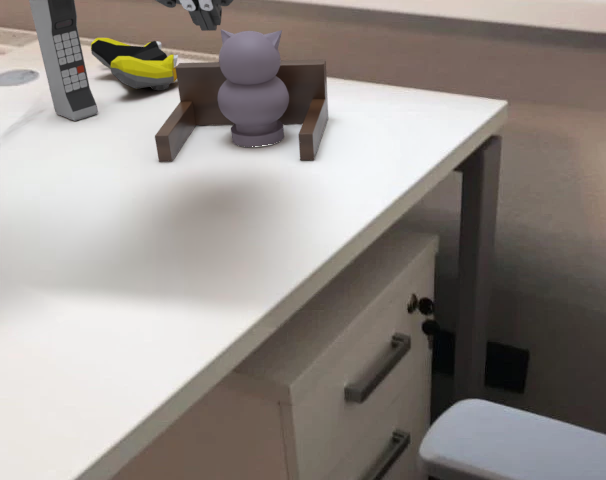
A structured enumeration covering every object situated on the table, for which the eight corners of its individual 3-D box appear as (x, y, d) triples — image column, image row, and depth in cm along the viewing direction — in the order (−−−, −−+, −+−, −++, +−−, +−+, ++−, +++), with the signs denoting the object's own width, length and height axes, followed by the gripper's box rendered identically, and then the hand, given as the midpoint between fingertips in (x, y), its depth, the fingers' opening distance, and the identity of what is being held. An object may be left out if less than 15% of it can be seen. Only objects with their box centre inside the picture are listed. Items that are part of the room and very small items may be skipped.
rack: (314, 160, 100) (310, 96, 95) (158, 161, 102) (148, 99, 98) (328, 118, 110) (325, 59, 106) (187, 120, 113) (179, 62, 109)
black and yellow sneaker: (120, 103, 120) (189, 90, 123) (112, 61, 117) (184, 48, 119) (93, 76, 131) (158, 64, 134) (85, 36, 127) (152, 25, 130)
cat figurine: (211, 147, 105) (197, 39, 97) (238, 124, 111) (227, 21, 103) (276, 152, 102) (267, 42, 95) (301, 129, 108) (295, 23, 100)
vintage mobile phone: (74, 122, 115) (24, -103, 99) (55, 114, 118) (4, -105, 102) (99, 114, 117) (53, -108, 101) (79, 106, 120) (32, -110, 104)
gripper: (242, -150, 71) (277, -15, 88) (85, -143, 73) (149, -12, 90) (236, -62, 70) (272, 57, 87) (77, -57, 72) (143, 58, 89)
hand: (209, 22), depth 88 cm, fingers closed
